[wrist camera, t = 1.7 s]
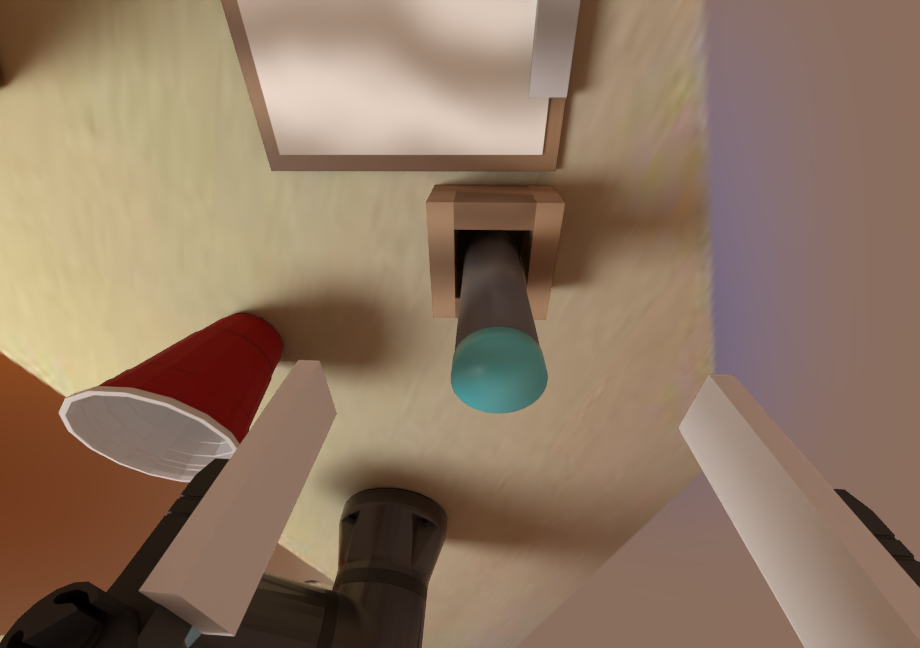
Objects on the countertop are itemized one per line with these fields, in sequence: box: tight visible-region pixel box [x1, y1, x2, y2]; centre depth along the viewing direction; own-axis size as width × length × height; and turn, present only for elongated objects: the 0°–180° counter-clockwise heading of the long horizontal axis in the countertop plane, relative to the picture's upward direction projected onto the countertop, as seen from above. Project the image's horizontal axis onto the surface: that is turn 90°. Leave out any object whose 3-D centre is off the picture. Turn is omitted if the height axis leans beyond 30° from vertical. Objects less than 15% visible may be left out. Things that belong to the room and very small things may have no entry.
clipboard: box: [221, 0, 581, 172], centre depth 18 cm, size 13×19×2 cm
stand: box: [426, 185, 565, 320], centre depth 23 cm, size 8×8×4 cm
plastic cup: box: [59, 313, 283, 482], centre depth 27 cm, size 11×11×12 cm
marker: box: [451, 230, 548, 413], centre depth 19 cm, size 4×4×15 cm
